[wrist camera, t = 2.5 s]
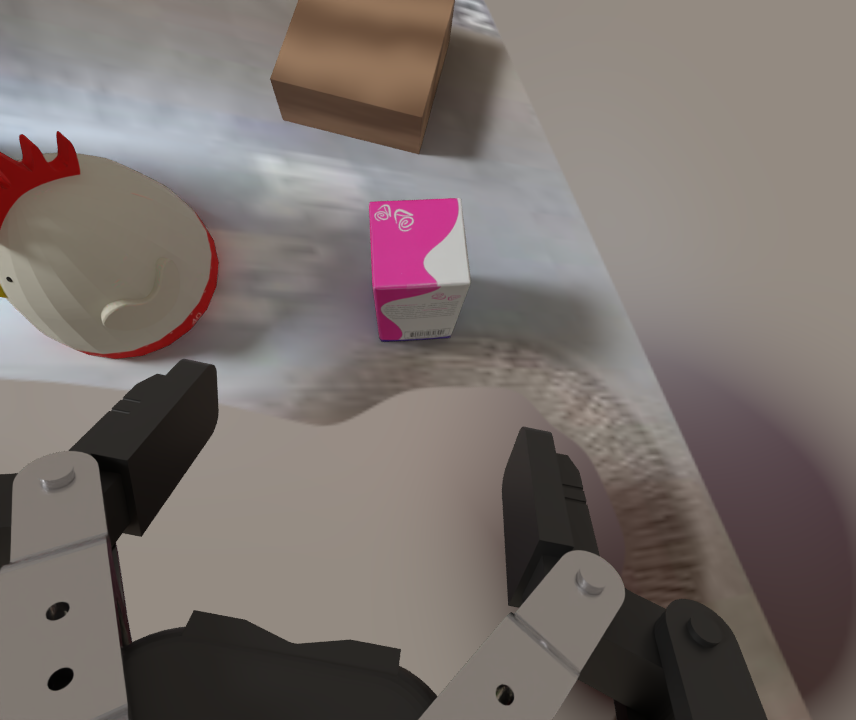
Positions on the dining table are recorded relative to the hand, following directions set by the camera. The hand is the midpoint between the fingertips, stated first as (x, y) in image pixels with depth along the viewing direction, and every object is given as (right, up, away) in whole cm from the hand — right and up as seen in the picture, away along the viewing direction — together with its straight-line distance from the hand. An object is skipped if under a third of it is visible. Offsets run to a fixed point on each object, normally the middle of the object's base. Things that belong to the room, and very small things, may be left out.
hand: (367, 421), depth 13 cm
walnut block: (-4, +26, +32) cm, 41 cm away
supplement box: (0, +6, +27) cm, 28 cm away
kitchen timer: (-22, +8, +26) cm, 35 cm away
